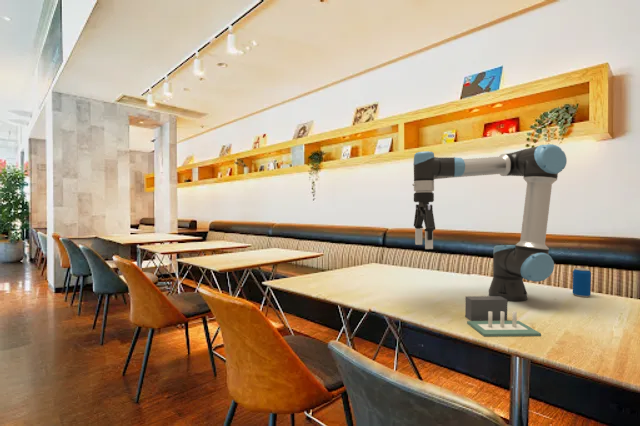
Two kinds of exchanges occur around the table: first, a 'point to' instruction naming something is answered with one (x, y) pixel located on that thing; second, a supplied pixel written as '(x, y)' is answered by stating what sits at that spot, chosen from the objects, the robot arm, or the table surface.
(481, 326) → the green peg board
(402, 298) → the table surface
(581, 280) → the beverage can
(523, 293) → the robot arm
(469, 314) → the block
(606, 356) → the table surface
